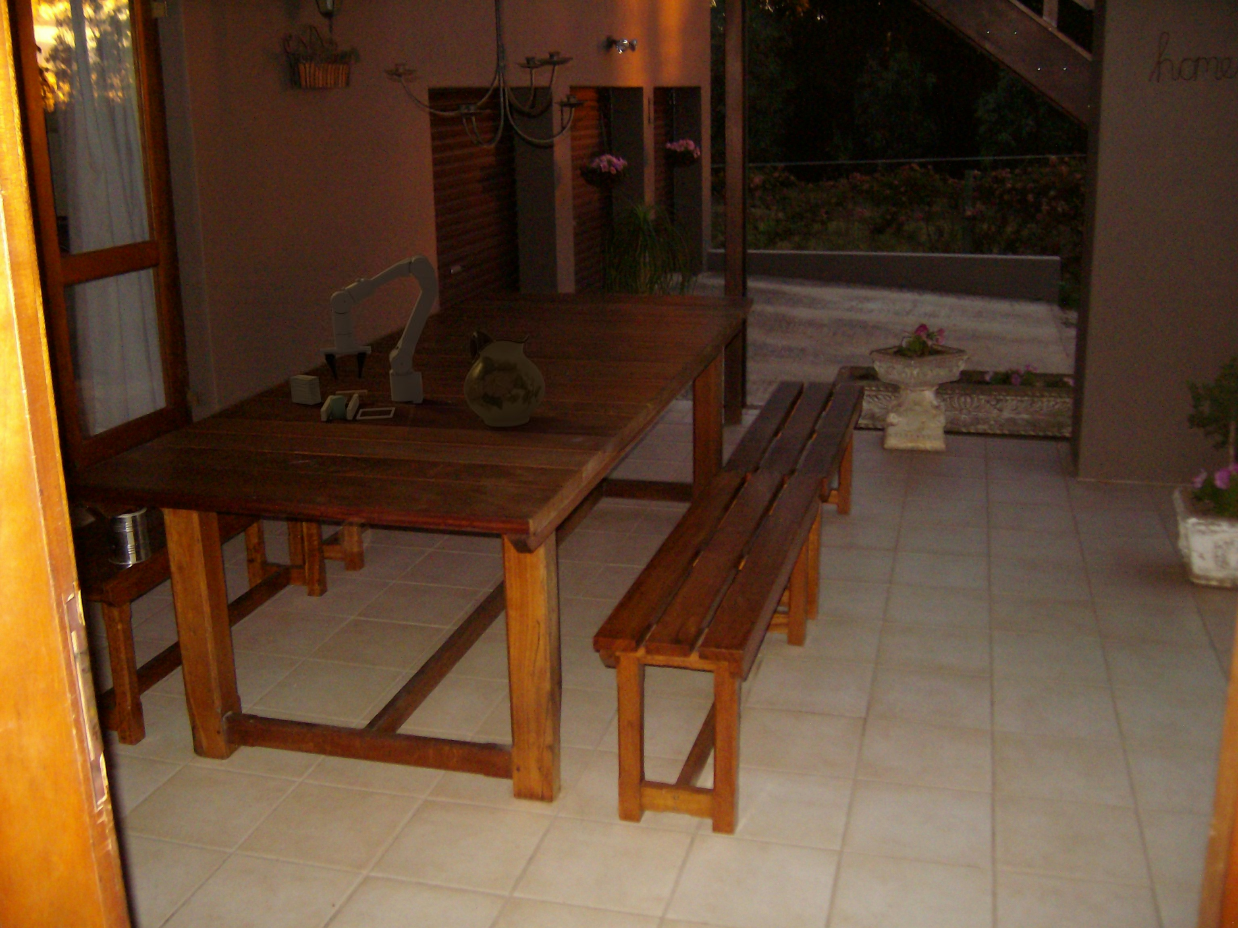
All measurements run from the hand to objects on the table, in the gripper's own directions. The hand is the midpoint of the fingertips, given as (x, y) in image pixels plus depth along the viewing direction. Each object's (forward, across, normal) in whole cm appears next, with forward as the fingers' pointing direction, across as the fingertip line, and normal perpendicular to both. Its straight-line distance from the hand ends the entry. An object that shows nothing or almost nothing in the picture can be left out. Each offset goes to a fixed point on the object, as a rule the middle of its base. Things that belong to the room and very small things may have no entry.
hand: (348, 378), depth 364 cm
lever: (+8, 0, +8) cm, 12 cm away
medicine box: (+9, +14, -4) cm, 17 cm away
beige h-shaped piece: (+8, +2, +11) cm, 14 cm away
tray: (+8, -9, +15) cm, 20 cm away
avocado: (+7, +2, +15) cm, 17 cm away
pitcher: (+9, -46, +28) cm, 54 cm away
